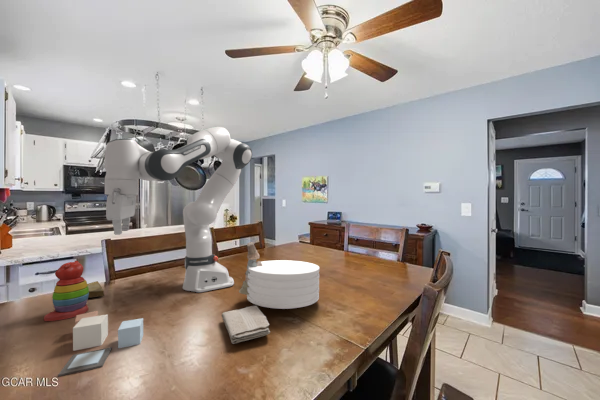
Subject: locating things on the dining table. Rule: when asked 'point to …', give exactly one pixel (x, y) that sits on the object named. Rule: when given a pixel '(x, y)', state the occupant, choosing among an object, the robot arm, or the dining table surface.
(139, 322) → the pale blue block
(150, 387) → the dining table surface
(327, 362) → the dining table surface
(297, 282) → the plate stack
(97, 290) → the rock
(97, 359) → the tile
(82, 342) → the cream block
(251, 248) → the figurine
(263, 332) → the washcloth
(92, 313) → the terracotta block
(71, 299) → the stacking bear
